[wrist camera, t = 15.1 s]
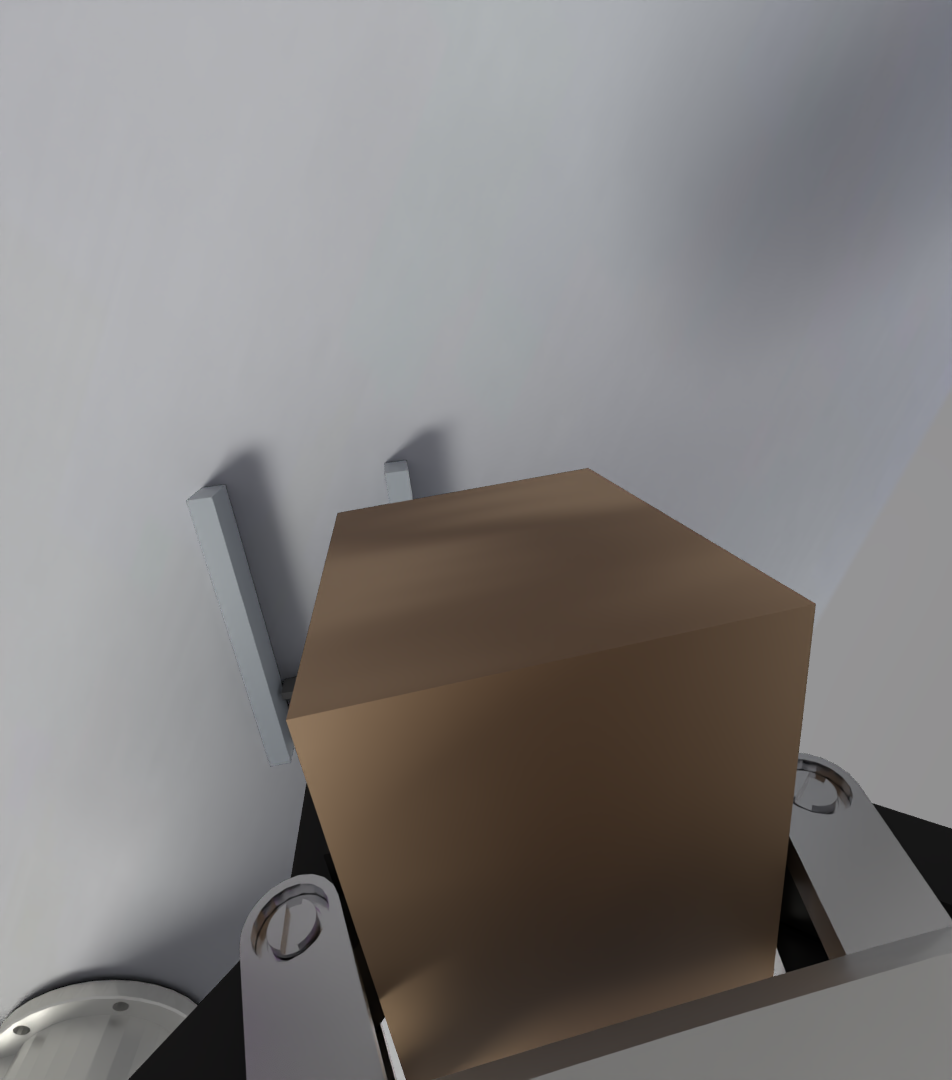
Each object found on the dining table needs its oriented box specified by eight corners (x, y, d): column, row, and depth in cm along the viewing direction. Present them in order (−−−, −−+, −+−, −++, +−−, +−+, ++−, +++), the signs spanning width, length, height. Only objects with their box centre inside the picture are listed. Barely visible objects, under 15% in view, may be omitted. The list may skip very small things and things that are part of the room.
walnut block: (404, 788, 13) (424, 1136, 7) (337, 513, 10) (285, 719, 5) (604, 740, 13) (767, 1029, 8) (588, 467, 11) (815, 603, 5)
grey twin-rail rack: (277, 738, 28) (270, 766, 27) (201, 487, 23) (186, 500, 21) (443, 707, 29) (447, 731, 28) (406, 460, 24) (408, 470, 22)
